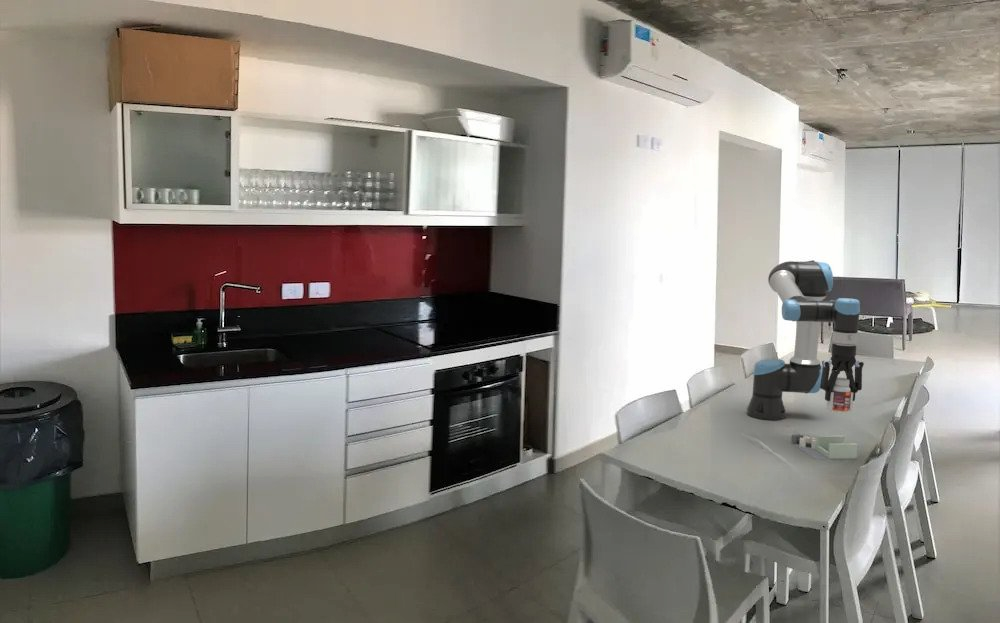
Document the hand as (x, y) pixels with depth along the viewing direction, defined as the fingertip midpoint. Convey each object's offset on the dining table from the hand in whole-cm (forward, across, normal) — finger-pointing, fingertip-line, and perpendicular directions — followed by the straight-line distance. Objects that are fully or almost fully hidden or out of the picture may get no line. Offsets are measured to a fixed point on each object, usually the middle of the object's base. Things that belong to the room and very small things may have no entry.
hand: (838, 409), depth 251 cm
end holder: (+16, 0, 0) cm, 16 cm away
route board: (+17, -2, +4) cm, 18 cm away
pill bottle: (+1, 0, 0) cm, 1 cm away
